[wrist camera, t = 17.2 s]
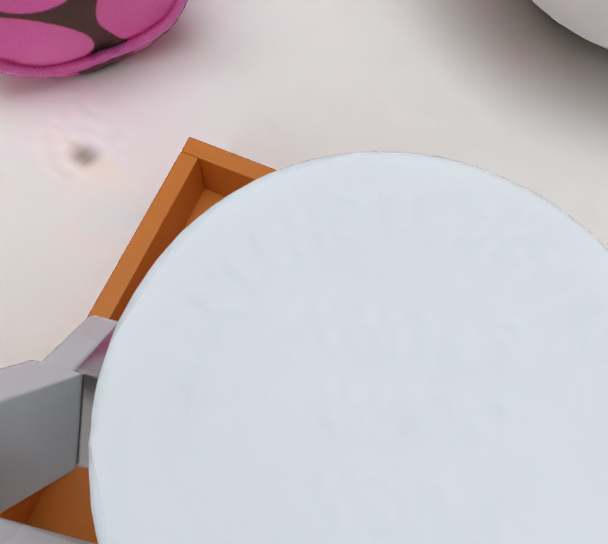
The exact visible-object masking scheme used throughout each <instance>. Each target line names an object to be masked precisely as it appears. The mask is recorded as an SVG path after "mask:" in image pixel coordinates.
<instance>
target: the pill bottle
mask: <svg viewBox="0 0 608 544" xmlns="http://www.w3.org/2000/svg"><path fill="white" fill-rule="evenodd" d="M88 447H89V482H90V500H91V510H92V516H93V522H94V527H95V533H96V537H97V542H98V544H608V249H607V248H606V247H605V246H604V245H603V244H602V243H601V242H600V241H598V240H597V239H596V238H595V237H594V236H593V235H592V234H591V233H590V232H589V231H587V230H586V229H585V228H584V227H582V226H581V225H580V224H579V223H577V222H576V221H575V220H574V219H572V218H571V217H570V216H569V215H567V214H566V213H564V212H563V211H561V210H560V209H558V208H557V207H556V206H554V205H553V204H551V203H550V202H548V201H547V200H545V199H543V198H542V197H540V196H538V195H537V194H535V193H533V192H531V191H530V190H528V189H526V188H524V187H522V186H520V185H518V184H516V183H514V182H511V181H509V180H507V179H505V178H503V177H500V176H497V175H495V174H493V173H490V172H488V171H486V170H484V169H482V168H479V167H475V166H471V165H467V164H465V163H461V162H458V161H454V160H450V159H446V158H443V157H437V156H428V155H421V154H415V153H401V152H375V151H372V152H360V153H347V154H337V155H330V156H327V157H323V158H317V159H312V160H308V161H305V162H302V163H298V164H295V165H291V166H288V167H285V168H283V169H280V170H277V171H274V172H272V173H269V174H267V175H265V176H263V177H261V178H258V179H256V180H254V181H252V182H251V183H249V184H247V185H245V186H243V187H242V188H240V189H238V190H236V191H234V192H233V193H231V194H230V195H228V196H227V197H225V198H223V199H222V200H220V201H219V202H217V203H216V204H214V205H213V206H212V207H210V208H209V209H208V210H207V211H205V212H204V213H203V214H202V215H200V216H199V217H198V218H197V219H195V220H194V221H193V222H192V223H191V224H190V225H189V226H187V227H186V228H185V229H184V230H183V231H182V232H181V233H180V234H179V235H178V236H177V237H176V238H175V239H174V240H173V242H172V243H171V244H170V245H169V246H168V247H167V248H166V250H165V251H164V252H163V253H162V254H161V255H160V256H159V258H158V259H157V260H156V261H155V263H154V264H153V266H152V267H151V268H150V270H149V271H148V272H147V274H146V276H145V277H144V279H143V280H142V282H141V283H140V285H139V286H138V288H137V289H136V291H135V292H134V294H133V295H132V297H131V299H130V301H129V303H128V305H127V306H126V308H125V310H124V312H123V314H122V316H121V317H120V319H119V321H118V323H117V326H116V328H115V330H114V333H113V335H112V338H111V340H110V343H109V346H108V349H107V352H106V356H105V359H104V362H103V365H102V368H101V371H100V375H99V378H98V381H97V385H96V390H95V395H94V402H93V408H92V417H91V430H90V436H89V442H88Z"/></svg>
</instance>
